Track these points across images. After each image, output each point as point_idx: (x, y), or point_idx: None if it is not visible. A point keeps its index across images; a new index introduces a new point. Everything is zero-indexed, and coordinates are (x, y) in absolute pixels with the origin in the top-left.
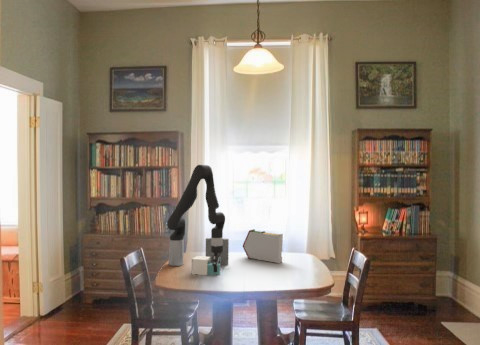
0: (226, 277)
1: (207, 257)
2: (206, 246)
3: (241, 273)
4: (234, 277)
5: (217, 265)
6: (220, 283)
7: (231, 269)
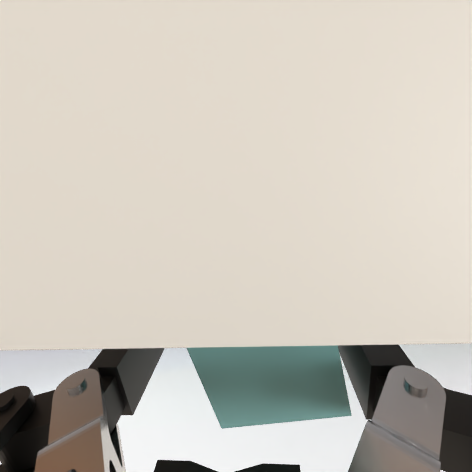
0: (168, 388)
1: (342, 220)
2: None
3: (319, 465)
4: (193, 436)
5: (210, 394)
6: (9, 376)
7: (452, 386)
